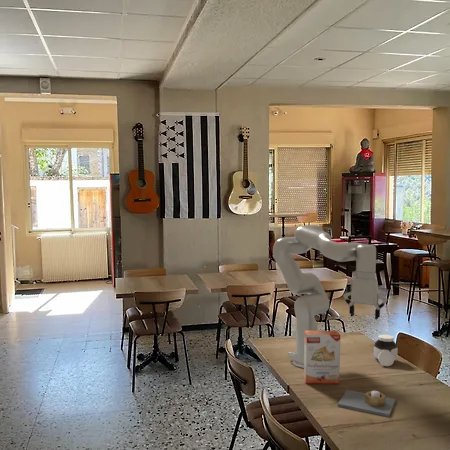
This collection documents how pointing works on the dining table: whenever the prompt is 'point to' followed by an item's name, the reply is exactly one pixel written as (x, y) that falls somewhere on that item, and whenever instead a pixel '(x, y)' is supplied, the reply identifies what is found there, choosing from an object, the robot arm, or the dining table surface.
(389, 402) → the base
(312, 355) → the cracker box
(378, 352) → the spread jar
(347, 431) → the dining table surface
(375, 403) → the ring
